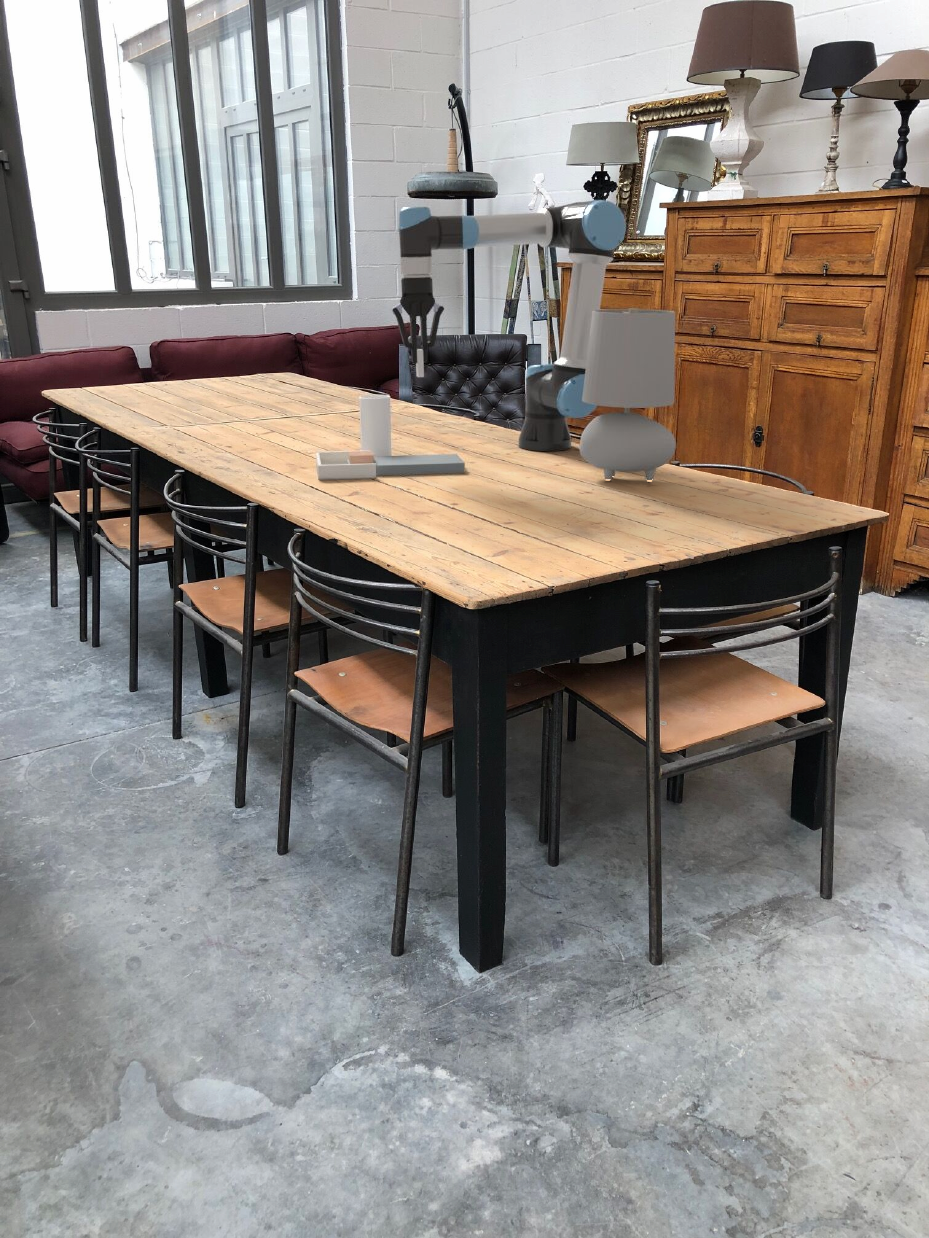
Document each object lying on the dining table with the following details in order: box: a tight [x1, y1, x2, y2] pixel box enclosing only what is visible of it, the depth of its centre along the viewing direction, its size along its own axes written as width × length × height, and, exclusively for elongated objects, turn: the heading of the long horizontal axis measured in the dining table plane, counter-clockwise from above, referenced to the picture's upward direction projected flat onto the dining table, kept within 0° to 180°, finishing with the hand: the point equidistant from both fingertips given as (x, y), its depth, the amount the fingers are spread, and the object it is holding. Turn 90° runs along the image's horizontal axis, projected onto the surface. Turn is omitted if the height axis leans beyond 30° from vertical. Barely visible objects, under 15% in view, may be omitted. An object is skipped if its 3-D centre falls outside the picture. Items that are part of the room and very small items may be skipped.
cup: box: [358, 394, 393, 456], centre depth 260 cm, size 8×8×16 cm
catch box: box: [315, 450, 377, 481], centre depth 243 cm, size 14×18×4 cm
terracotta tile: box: [347, 450, 374, 464], centre depth 243 cm, size 6×6×2 cm
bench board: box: [374, 453, 466, 477], centre depth 246 cm, size 22×12×2 cm, turn 100°
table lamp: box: [579, 307, 677, 480], centre depth 228 cm, size 23×22×40 cm
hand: (420, 376), depth 241 cm, fingers closed
